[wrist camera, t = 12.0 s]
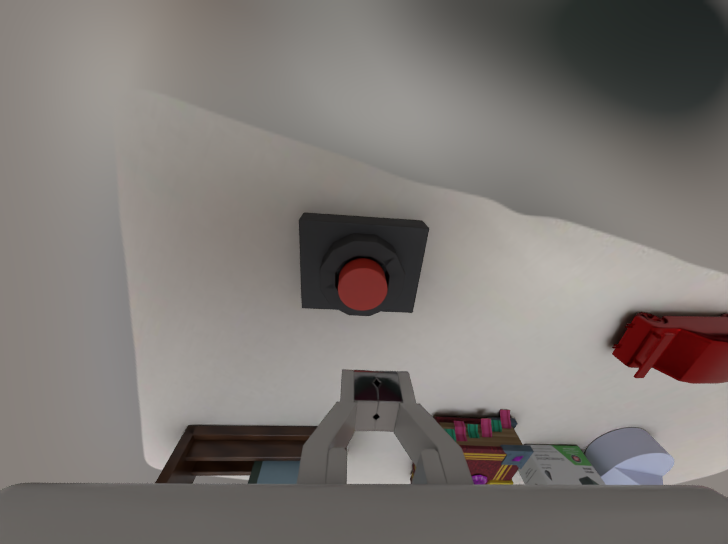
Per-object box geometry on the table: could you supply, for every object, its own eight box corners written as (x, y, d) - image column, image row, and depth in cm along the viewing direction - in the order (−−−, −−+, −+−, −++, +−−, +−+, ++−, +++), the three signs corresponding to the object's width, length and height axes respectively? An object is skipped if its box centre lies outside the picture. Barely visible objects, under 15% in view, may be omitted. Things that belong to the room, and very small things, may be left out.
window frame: (197, 452, 35) (113, 622, 23) (188, 425, 33) (87, 600, 20) (344, 453, 37) (341, 613, 24) (347, 426, 34) (344, 590, 22)
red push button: (338, 297, 21) (336, 309, 20) (339, 256, 19) (338, 266, 18) (382, 299, 21) (384, 311, 20) (387, 259, 20) (390, 269, 18)
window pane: (259, 454, 34) (196, 668, 20) (258, 447, 33) (191, 664, 19) (327, 454, 35) (311, 662, 21) (327, 447, 34) (311, 657, 20)
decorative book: (407, 475, 40) (414, 517, 36) (433, 405, 33) (446, 447, 29) (477, 477, 41) (492, 517, 37) (517, 410, 34) (542, 450, 30)
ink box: (579, 444, 38) (665, 559, 28) (564, 463, 41) (639, 576, 30) (524, 443, 38) (590, 560, 27) (512, 462, 40) (569, 578, 29)
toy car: (600, 349, 30) (643, 385, 25) (624, 309, 27) (676, 341, 23) (712, 349, 31) (773, 384, 26) (745, 310, 28) (818, 342, 24)
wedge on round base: (599, 480, 43) (662, 433, 38) (639, 534, 37) (720, 488, 32) (555, 472, 42) (615, 422, 36) (590, 528, 36) (668, 478, 30)
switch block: (305, 295, 25) (297, 320, 21) (303, 212, 21) (294, 226, 18) (408, 299, 26) (417, 325, 22) (422, 220, 22) (436, 235, 19)
